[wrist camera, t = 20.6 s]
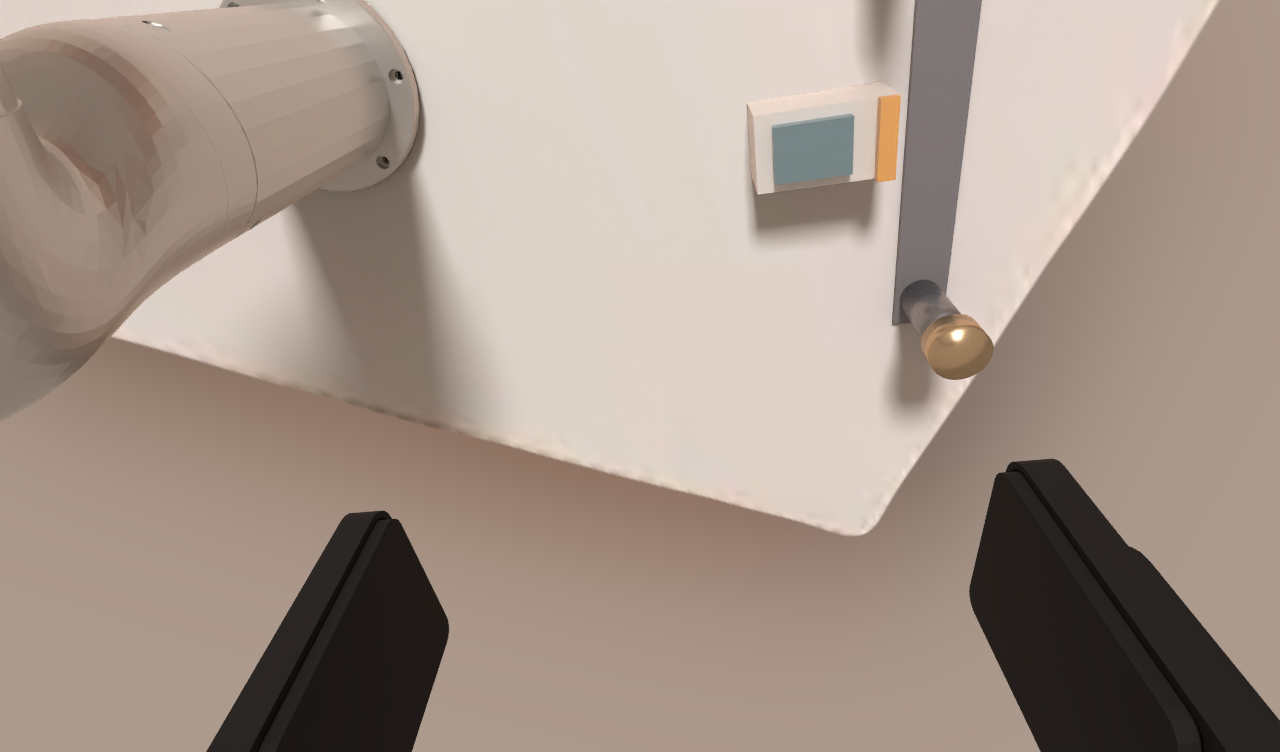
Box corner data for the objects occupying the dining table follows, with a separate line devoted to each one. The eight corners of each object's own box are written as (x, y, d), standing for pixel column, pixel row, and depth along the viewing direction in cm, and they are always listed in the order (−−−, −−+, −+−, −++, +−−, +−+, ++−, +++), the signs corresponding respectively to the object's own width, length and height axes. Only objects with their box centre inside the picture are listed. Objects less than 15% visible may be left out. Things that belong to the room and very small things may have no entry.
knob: (892, 322, 46) (928, 382, 39) (895, 277, 44) (933, 332, 37) (943, 316, 46) (988, 376, 39) (948, 271, 44) (997, 326, 37)
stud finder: (751, 174, 41) (758, 198, 37) (746, 102, 39) (754, 118, 35) (876, 156, 40) (898, 179, 36) (879, 81, 38) (904, 95, 33)
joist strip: (892, 322, 46) (893, 324, 46) (920, -69, 33) (922, -69, 33) (941, 317, 46) (942, 319, 46) (989, -82, 33) (991, -82, 33)
